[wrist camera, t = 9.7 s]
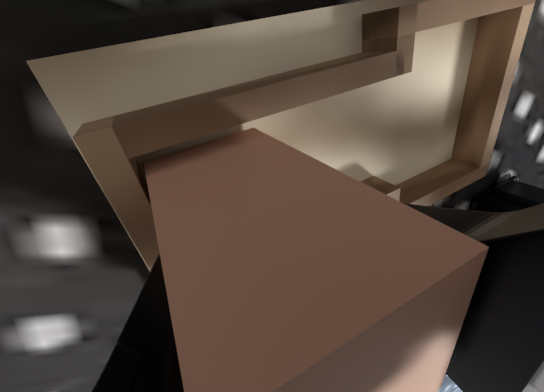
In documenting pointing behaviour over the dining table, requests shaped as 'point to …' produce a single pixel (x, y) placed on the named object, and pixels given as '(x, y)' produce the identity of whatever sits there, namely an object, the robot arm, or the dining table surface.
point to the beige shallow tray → (301, 96)
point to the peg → (303, 274)
